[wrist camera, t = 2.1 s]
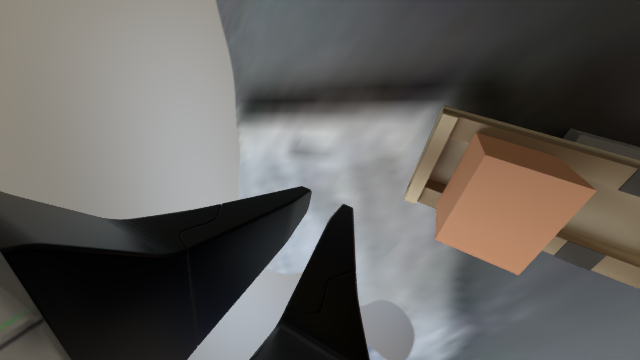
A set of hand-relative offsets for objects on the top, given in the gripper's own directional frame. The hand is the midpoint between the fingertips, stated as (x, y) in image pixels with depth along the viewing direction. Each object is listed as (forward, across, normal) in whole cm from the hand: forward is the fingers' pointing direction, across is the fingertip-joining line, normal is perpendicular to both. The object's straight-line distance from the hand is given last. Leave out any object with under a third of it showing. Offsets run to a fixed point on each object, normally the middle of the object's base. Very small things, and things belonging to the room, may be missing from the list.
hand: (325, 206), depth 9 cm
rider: (+10, -7, 0) cm, 12 cm away
